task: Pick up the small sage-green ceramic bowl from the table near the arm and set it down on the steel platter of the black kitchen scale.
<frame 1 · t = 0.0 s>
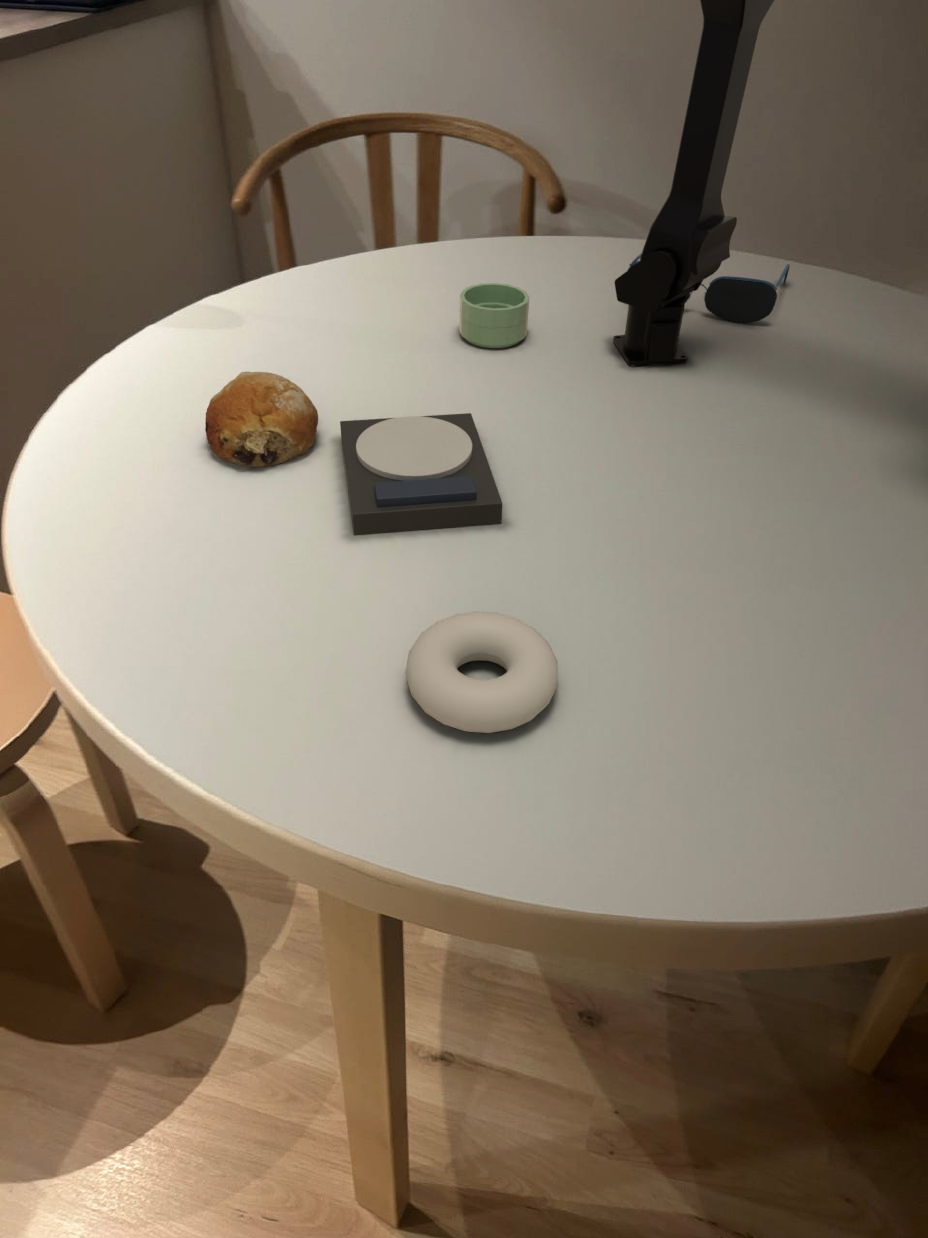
sunglasses: (705, 294, 116), on the table
bowl: (492, 335, 105), on the table
scale: (416, 479, 83), on the table
donut: (481, 690, 64), on the table
bread roll: (263, 444, 87), on the table
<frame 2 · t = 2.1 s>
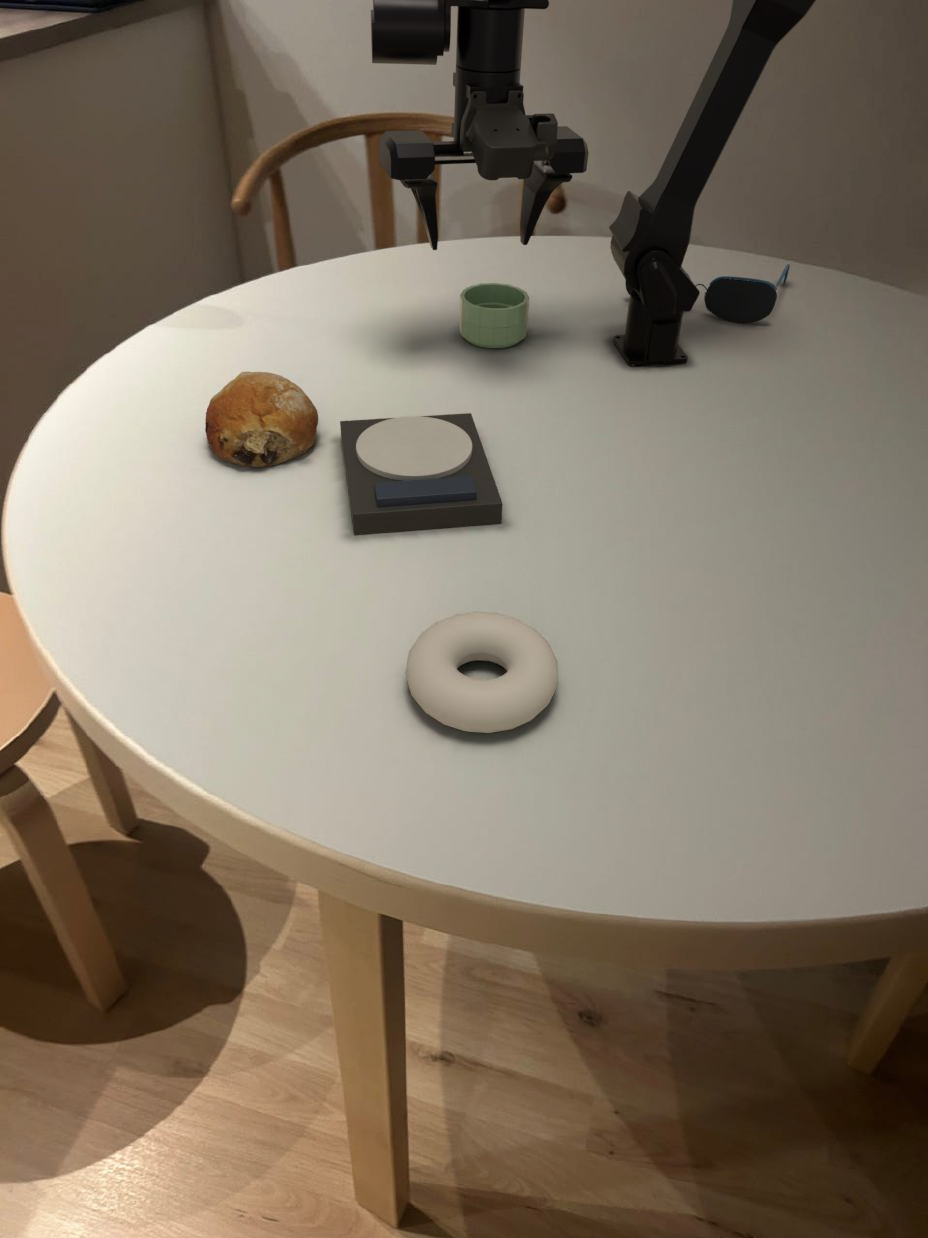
hand: (479, 246, 94), 11 cm above the table, tool pointing down, fingers open, 9 cm apart
nothing on the table moved.
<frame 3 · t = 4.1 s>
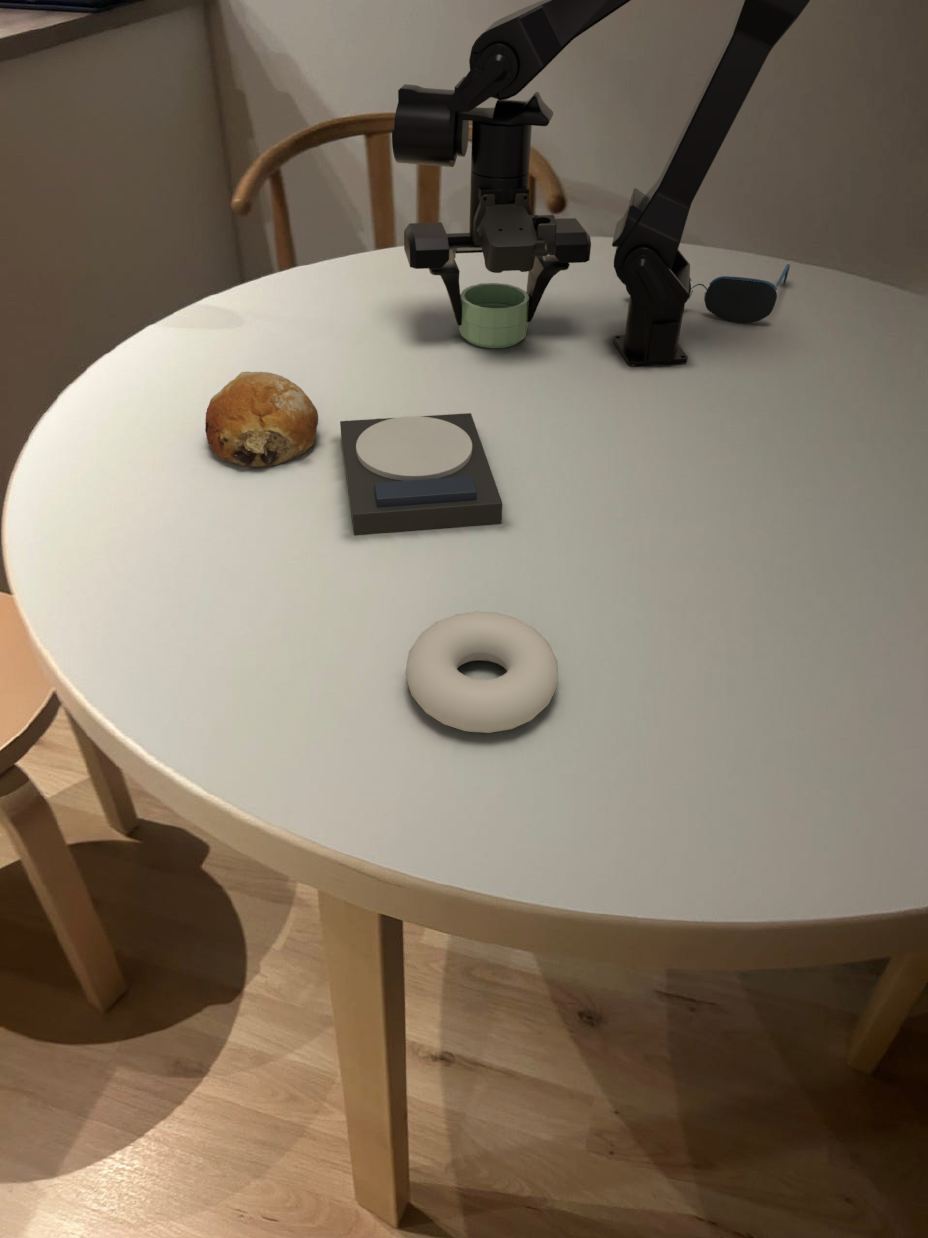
hand: (493, 322, 104), 2 cm above the table, tool pointing down, fingers closed on bowl, 7 cm apart
bowl: (492, 335, 105), on the table, touching gripper
everything else where it was.
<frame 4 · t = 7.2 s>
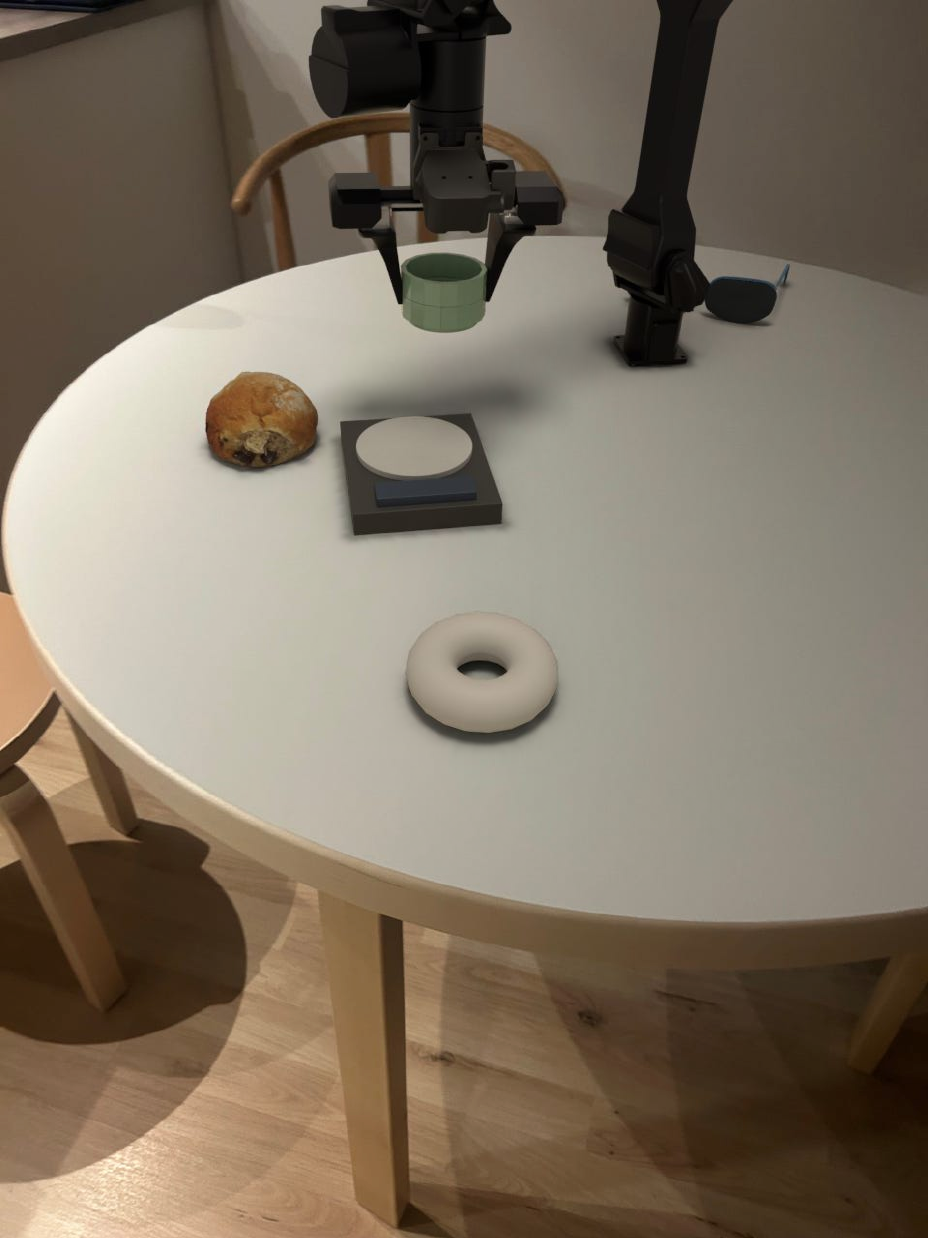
hand: (443, 301, 84), 11 cm above the table, tool pointing down, fingers closed on bowl, 7 cm apart
bowl: (443, 318, 85), point 10 cm above the table, touching gripper
everything else where it was.
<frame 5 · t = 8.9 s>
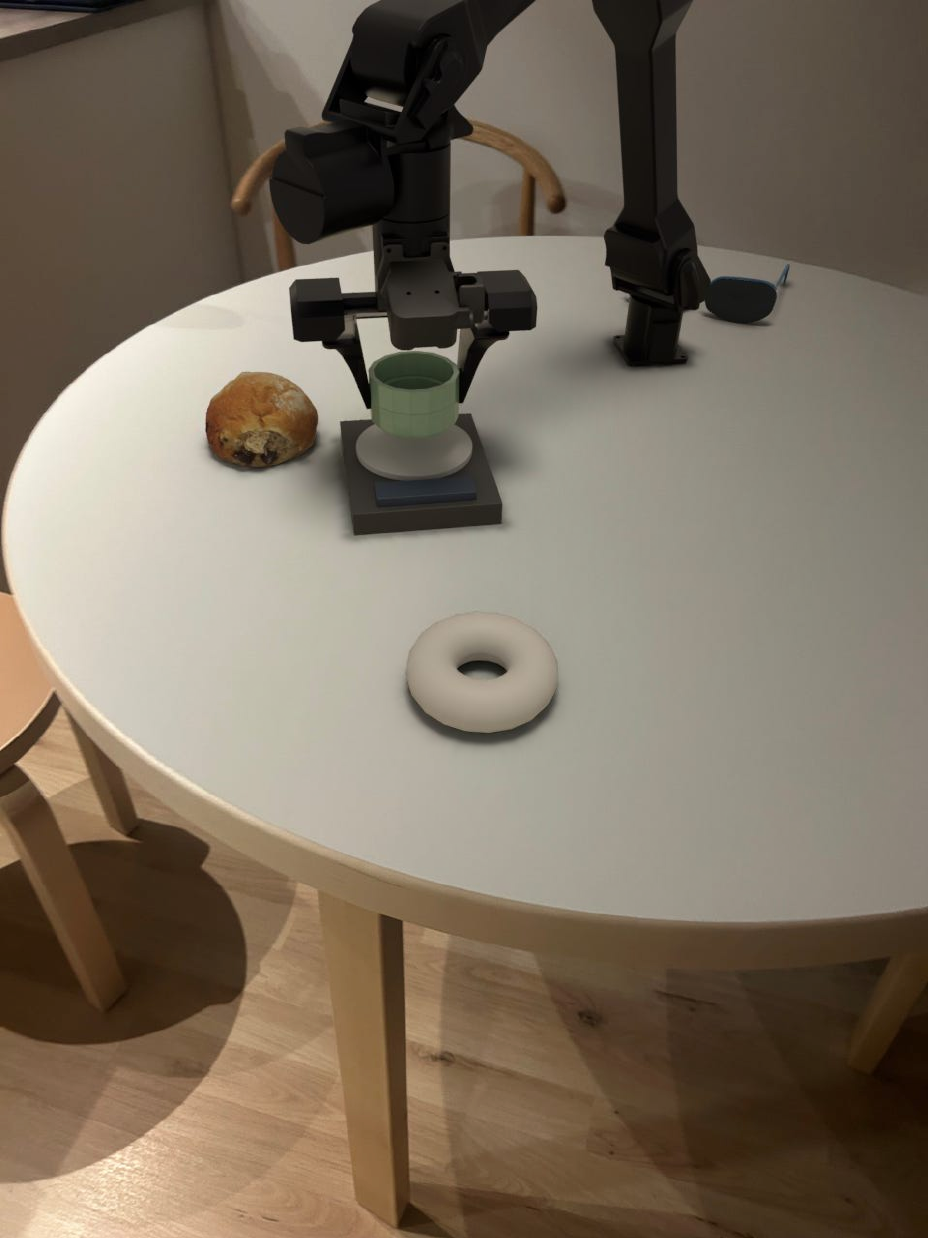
hand: (414, 404, 80), 6 cm above the table, tool pointing down, fingers closed on bowl, 7 cm apart
bowl: (414, 419, 81), point 5 cm above the table, touching gripper
everything else where it was.
when the fingers open (4 cm above the table, at t = 10.2 s): bowl stays where it is, resting on scale.
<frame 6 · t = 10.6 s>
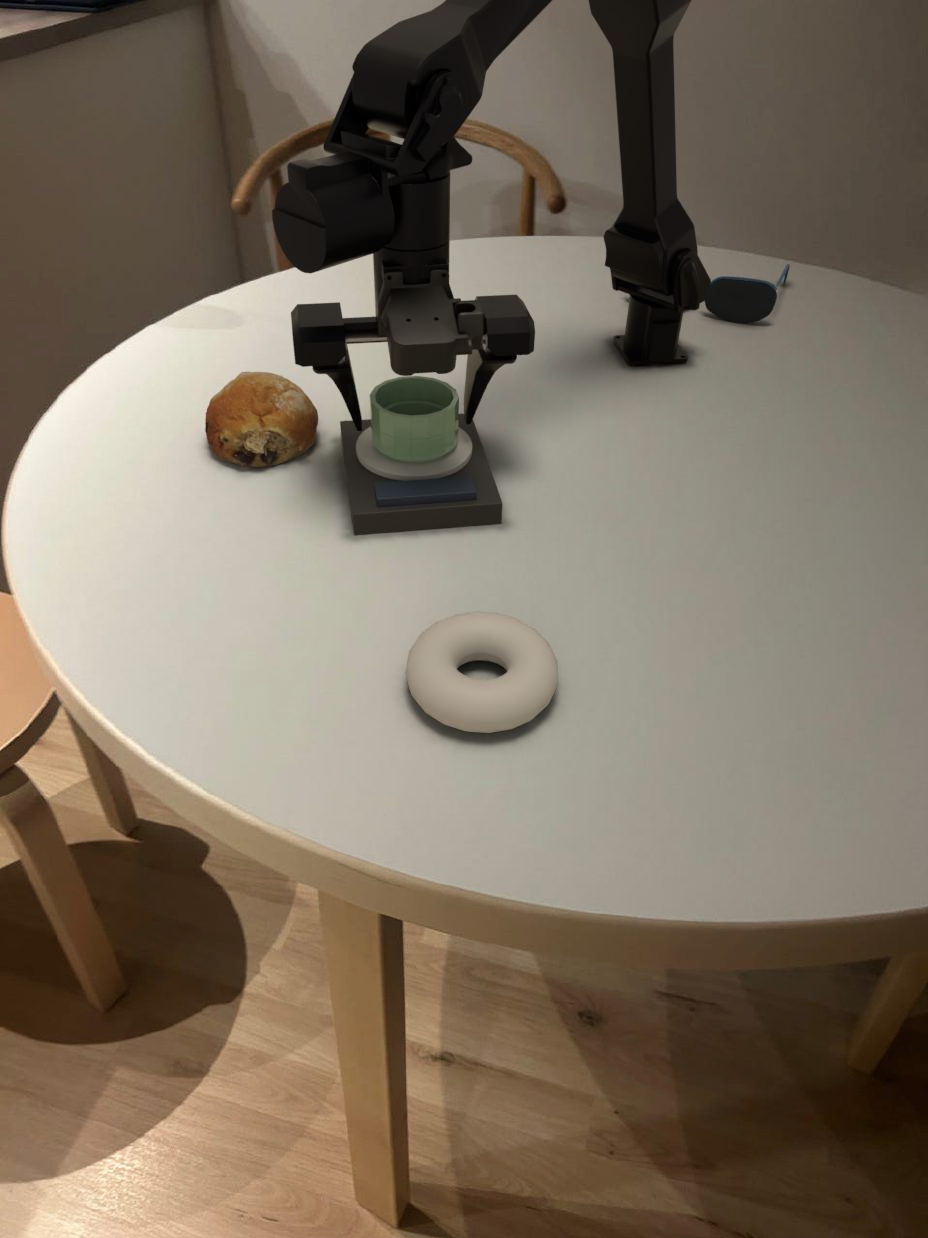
hand: (413, 425, 81), 4 cm above the table, tool pointing down, fingers open, 9 cm apart
bowl: (414, 443, 82), point 3 cm above the table, touching scale
everything else where it was.
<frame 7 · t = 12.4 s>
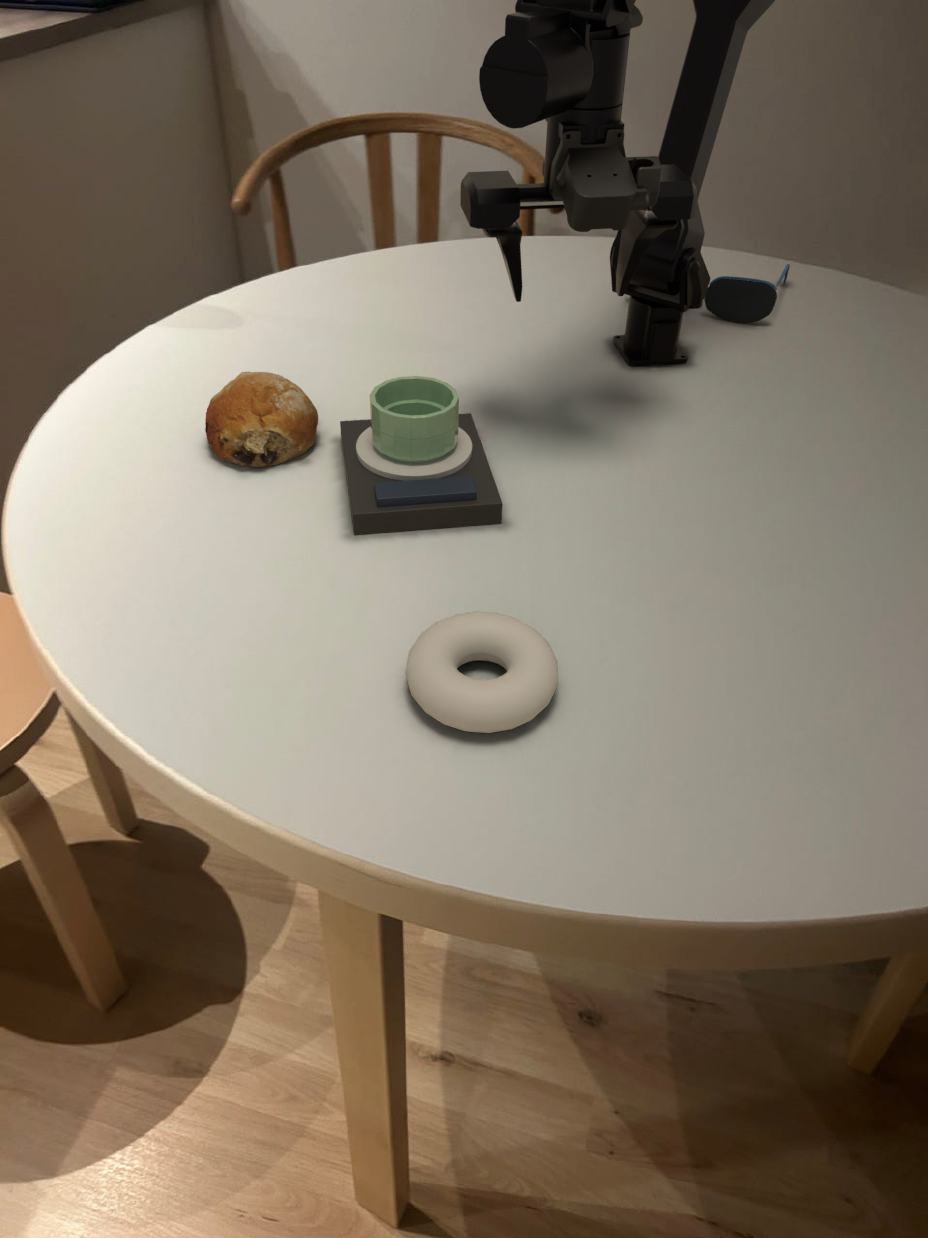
hand: (568, 297, 84), 12 cm above the table, tool pointing down, fingers open, 9 cm apart
nothing on the table moved.
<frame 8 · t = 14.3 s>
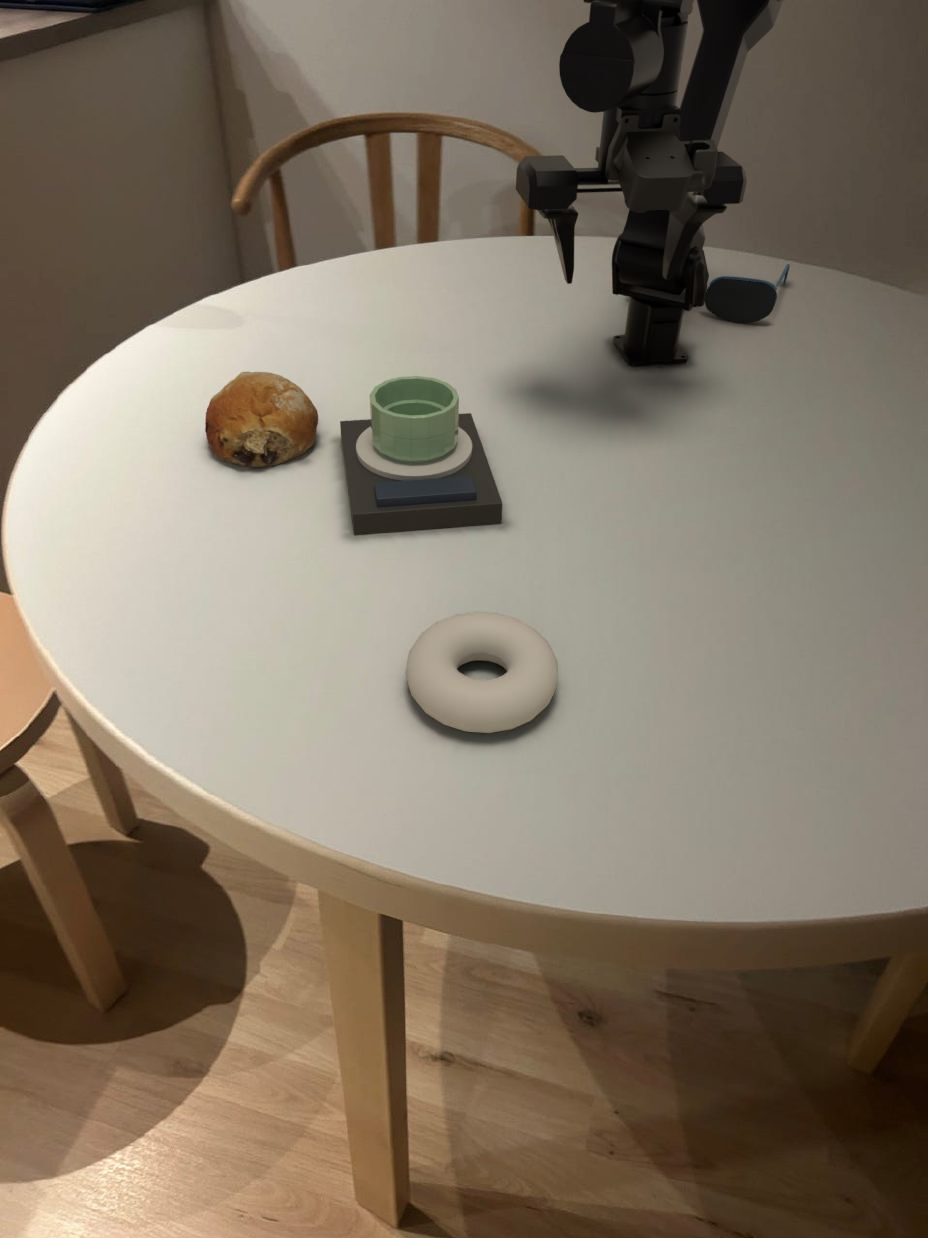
hand: (617, 280, 87), 12 cm above the table, tool pointing down, fingers open, 9 cm apart
nothing on the table moved.
at the end: bowl inside the target area on the scale (0.1 cm from its centre), point 2.6 cm above the scale's base; bowl tilted 0°; the gripper is holding nothing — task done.
